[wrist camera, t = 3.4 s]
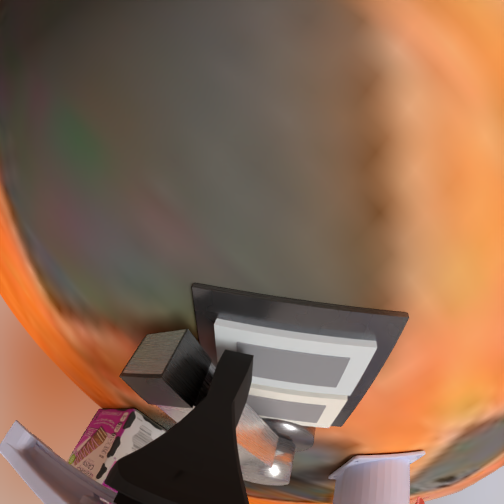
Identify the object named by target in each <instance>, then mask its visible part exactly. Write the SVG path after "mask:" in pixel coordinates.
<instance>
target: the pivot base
mask: <svg viewBox="0 0 504 504" xmlns="http://www.w3.org/2000/svg"><path fill="white" fill-rule="evenodd" d="M261 419H262V420H263V421H264V422H265V423H266V424H267V425H268V426H269V427H270V428H271V429H272V430H273V431H274V432H275V433H276V434H277V435H278V436H279V437H281V438H284V439H287V440H290V441H292V442H293V443H294V444H295V445H296V449H295V452H300V451H304V450H307V449H309V448H310V447H312V446H313V443H314V435H315V427H311V426H302V425H299V424H296V423H292V422H289V421H284V420H279V419H272V418H261Z"/></svg>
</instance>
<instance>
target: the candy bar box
mask: <svg viewBox="0 0 504 504" xmlns="http://www.w3.org/2000/svg"><path fill="white" fill-rule="evenodd" d="M165 432H166V430H165V429H164V428H162V427H161V426H159V425H158V424H156V423H155V422H153V421H152V420H151V419H149V418H148V417H146V416H145V415H144V414H142V413H141V412H139V411H138V410H136V409H99V410H98V411H97V413H96V414H95V416H94V418H93V419H92V421H91V422H90V424H89V426H88V427H87V429H86V431H85V432H84V434H83V436H82V437H81V439H80V441H79V442H78V444H77V446H76V448H75V449H74V451H73V452H72V454H71V456H70V458H69V459H68V461H67V462H68V463H69V464H71V465H72V466H74V467H75V468H76V469H78V470H79V471H81V472H82V473H84V474H85V475H87V476H89V477H90V478H92V479H93V480H95V481H97V482H98V483H100V484H102V485H103V486H105V487H107V488H109V489H110V490H112V491H114V492H116V493H118V491H116V490H115V489H113V488H111V487H109V486H108V485H106V484H105V482H104V481H105V479H106V477H107V475H108V473H109V471H110V469H111V468H112V467H113V465H114V464H115V463H116V462H117V460H119V459H120V458H122V457H124V456H126V455H128V454H130V453H132V452H134V451H136V450H138V449H140V448H142V447H144V446H145V445H147V444H148V443H150V442H152V441H153V440H155V439H156V438H158V437H159V436H161V435H162V434H164V433H165ZM100 500H102V501H104V502H106V503H109V504H112V503H110V502H108V501H106V500H105V499H103V498H101V497H100Z"/></svg>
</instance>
